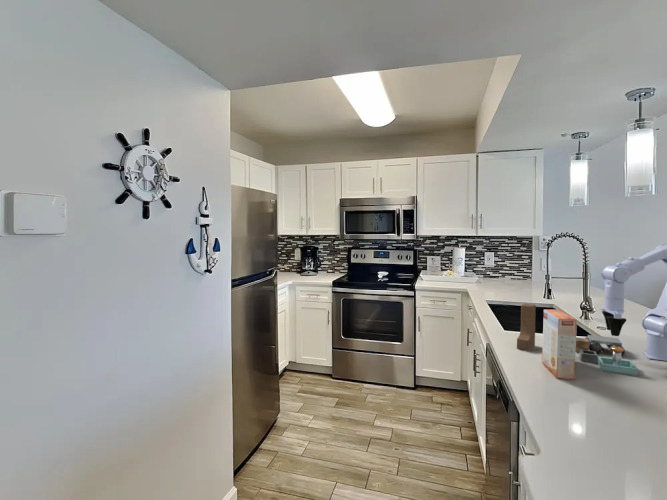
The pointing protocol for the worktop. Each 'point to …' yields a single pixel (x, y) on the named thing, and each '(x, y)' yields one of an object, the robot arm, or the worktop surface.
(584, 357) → the bracket
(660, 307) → the robot arm
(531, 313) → the wooden block
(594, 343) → the trolley
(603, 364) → the tray
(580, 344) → the block
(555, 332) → the cracker box
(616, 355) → the pin
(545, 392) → the worktop surface
